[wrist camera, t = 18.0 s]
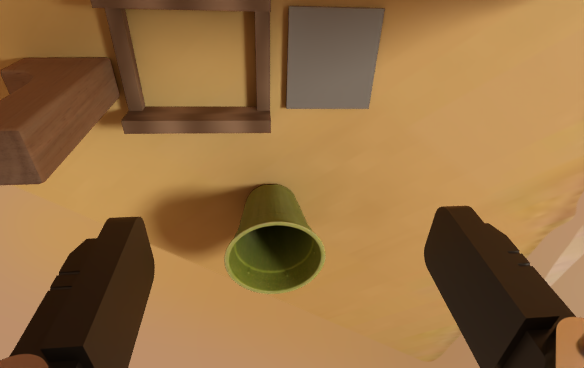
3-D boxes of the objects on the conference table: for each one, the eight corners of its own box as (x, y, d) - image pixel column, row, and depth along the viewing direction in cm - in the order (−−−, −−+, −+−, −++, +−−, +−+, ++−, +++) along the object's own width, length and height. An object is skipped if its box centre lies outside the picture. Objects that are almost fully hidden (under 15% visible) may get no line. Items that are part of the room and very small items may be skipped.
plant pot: (294, 241, 56) (302, 301, 47) (220, 223, 53) (212, 284, 43) (326, 181, 50) (342, 237, 41) (245, 157, 47) (242, 211, 37)
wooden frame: (269, -12, 36) (270, -7, 33) (269, 118, 44) (270, 132, 41) (103, -16, 35) (87, -12, 31) (134, 118, 42) (124, 133, 39)
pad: (383, 8, 38) (384, 9, 37) (367, 106, 44) (368, 108, 44) (288, 5, 37) (289, 6, 37) (286, 106, 43) (286, 108, 43)
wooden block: (38, 98, 40) (-89, 190, 25) (22, 57, 38) (-130, 132, 23) (121, 96, 41) (44, 186, 26) (110, 56, 38) (18, 129, 24)
